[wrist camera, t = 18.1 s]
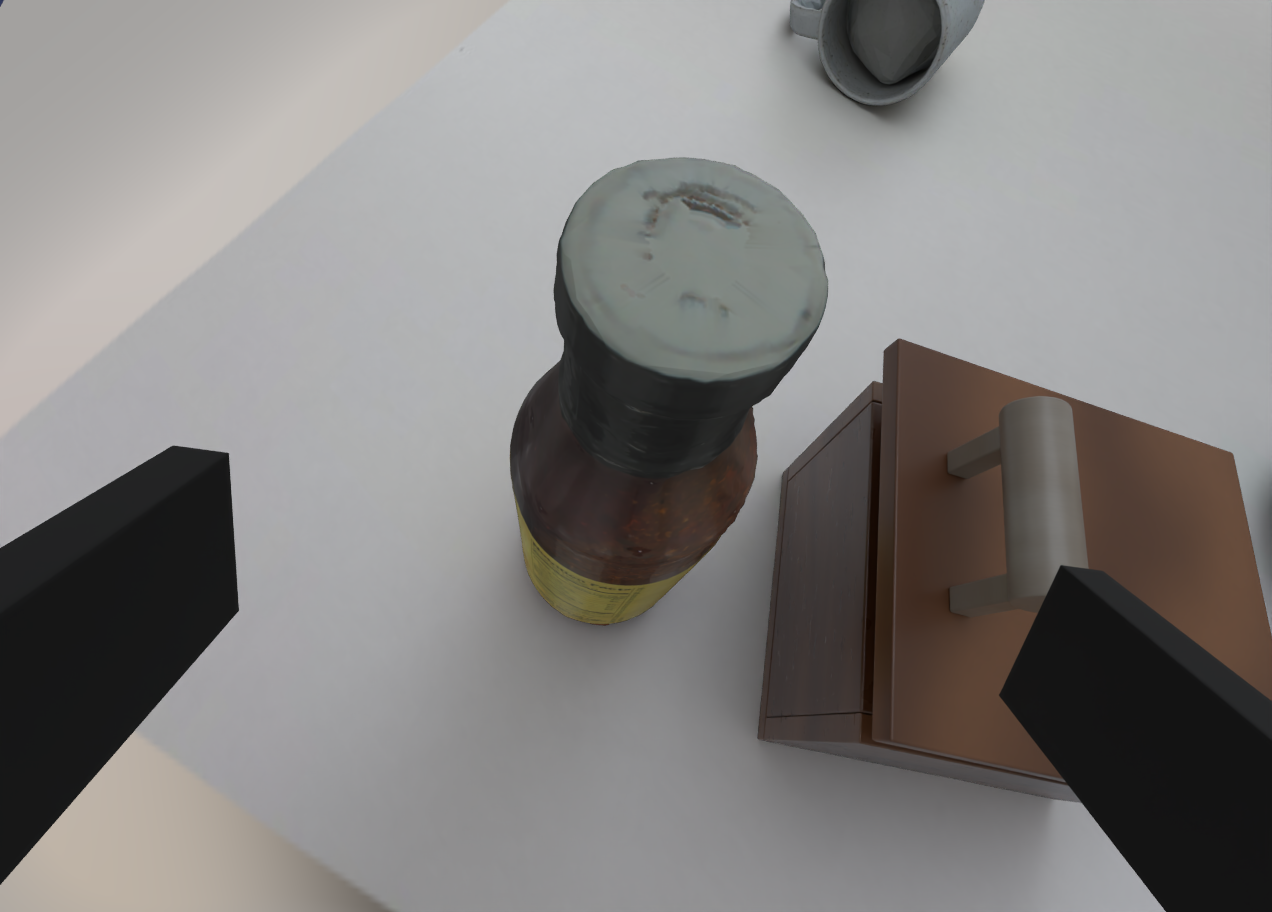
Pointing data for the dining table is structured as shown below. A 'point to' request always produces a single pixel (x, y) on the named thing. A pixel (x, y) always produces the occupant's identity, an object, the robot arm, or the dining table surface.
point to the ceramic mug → (883, 42)
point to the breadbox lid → (1034, 545)
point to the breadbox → (842, 610)
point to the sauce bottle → (658, 378)
